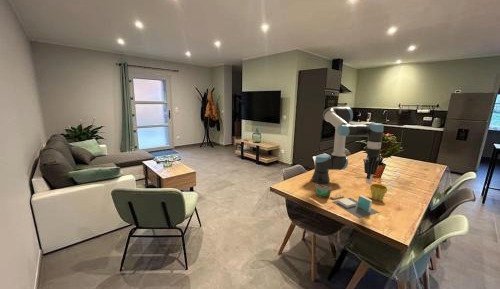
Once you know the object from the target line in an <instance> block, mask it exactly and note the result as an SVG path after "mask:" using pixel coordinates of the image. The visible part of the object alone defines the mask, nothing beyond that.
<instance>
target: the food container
mask: <svg viewBox="0 0 500 289" xmlns="http://www.w3.org/2000/svg"><path fill="white" fill-rule="evenodd" d="M314 187H315V196H316V197H317V198H320V199H330V197H331V192H332V190H333V187H332V186H327V185H326V184H320V183H317V182H315V185H314Z"/></svg>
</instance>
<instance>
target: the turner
mask: <svg viewBox="0 0 500 289" xmlns="http://www.w3.org/2000/svg"><path fill="white" fill-rule="evenodd" d="M344 197H345V195H342V194H335V195H330V197H329V199H331V200H334V201H335V200H340V199H344Z"/></svg>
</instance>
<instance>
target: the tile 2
mask: <svg viewBox="0 0 500 289" xmlns="http://www.w3.org/2000/svg"><path fill="white" fill-rule="evenodd" d="M357 201H358V207H359V208H361V209H363V210H365V211H367V212H368V213H369V212H370V211H371V208H372V204H373V200H372V199H370V198H368V197H366V196H364V195H362V194H359V195H358V200H357Z"/></svg>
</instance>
